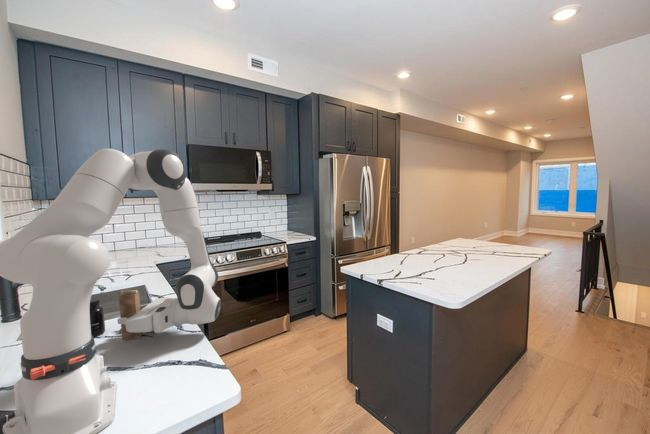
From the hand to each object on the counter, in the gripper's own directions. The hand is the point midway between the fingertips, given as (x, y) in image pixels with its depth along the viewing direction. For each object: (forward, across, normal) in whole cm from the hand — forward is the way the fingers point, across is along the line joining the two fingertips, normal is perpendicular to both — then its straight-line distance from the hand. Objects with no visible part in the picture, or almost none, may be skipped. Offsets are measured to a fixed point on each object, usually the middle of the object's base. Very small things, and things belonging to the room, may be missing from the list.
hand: (127, 314), depth 96 cm
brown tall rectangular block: (-1, 0, +8) cm, 8 cm away
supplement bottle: (+14, -4, +8) cm, 17 cm away
